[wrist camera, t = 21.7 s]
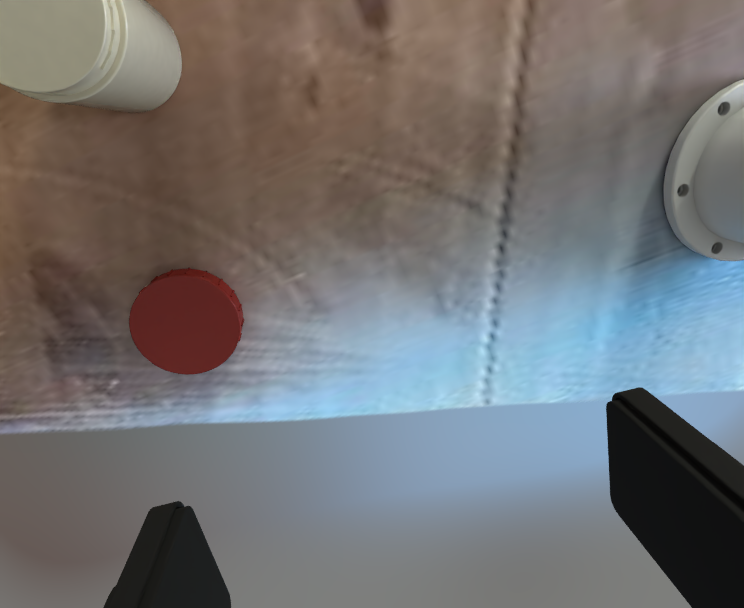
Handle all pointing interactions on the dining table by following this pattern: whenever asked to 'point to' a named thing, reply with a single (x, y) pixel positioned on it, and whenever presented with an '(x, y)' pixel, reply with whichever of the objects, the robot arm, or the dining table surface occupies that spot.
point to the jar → (89, 53)
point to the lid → (186, 321)
